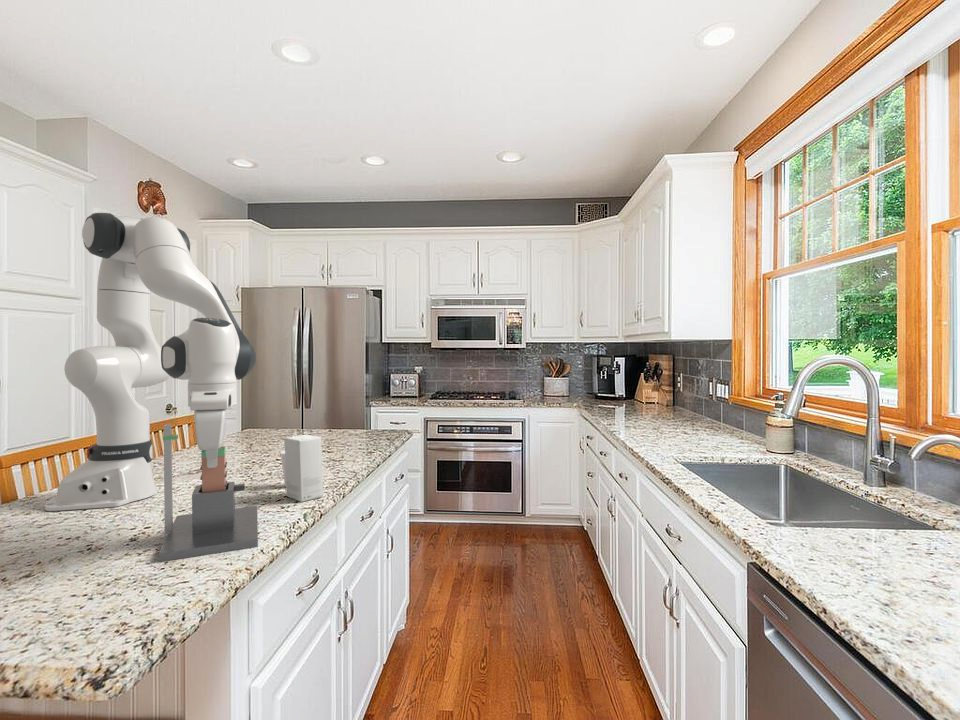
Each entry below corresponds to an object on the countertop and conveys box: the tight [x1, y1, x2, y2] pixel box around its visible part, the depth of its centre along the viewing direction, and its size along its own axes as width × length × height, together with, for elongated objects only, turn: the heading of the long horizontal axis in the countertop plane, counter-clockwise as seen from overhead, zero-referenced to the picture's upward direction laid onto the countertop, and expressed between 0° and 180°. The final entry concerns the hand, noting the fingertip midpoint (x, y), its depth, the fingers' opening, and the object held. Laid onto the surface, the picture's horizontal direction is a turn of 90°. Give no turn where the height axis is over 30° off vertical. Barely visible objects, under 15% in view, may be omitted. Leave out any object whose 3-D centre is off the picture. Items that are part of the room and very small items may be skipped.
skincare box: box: [283, 434, 324, 503], centre depth 124 cm, size 8×7×16 cm
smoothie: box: [279, 435, 295, 488], centre depth 134 cm, size 6×6×14 cm
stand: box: [158, 424, 259, 563], centre depth 99 cm, size 17×22×23 cm
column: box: [199, 445, 228, 492], centre depth 99 cm, size 5×4×12 cm
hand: (213, 464), depth 99 cm, fingers closed on column, 4 cm apart
